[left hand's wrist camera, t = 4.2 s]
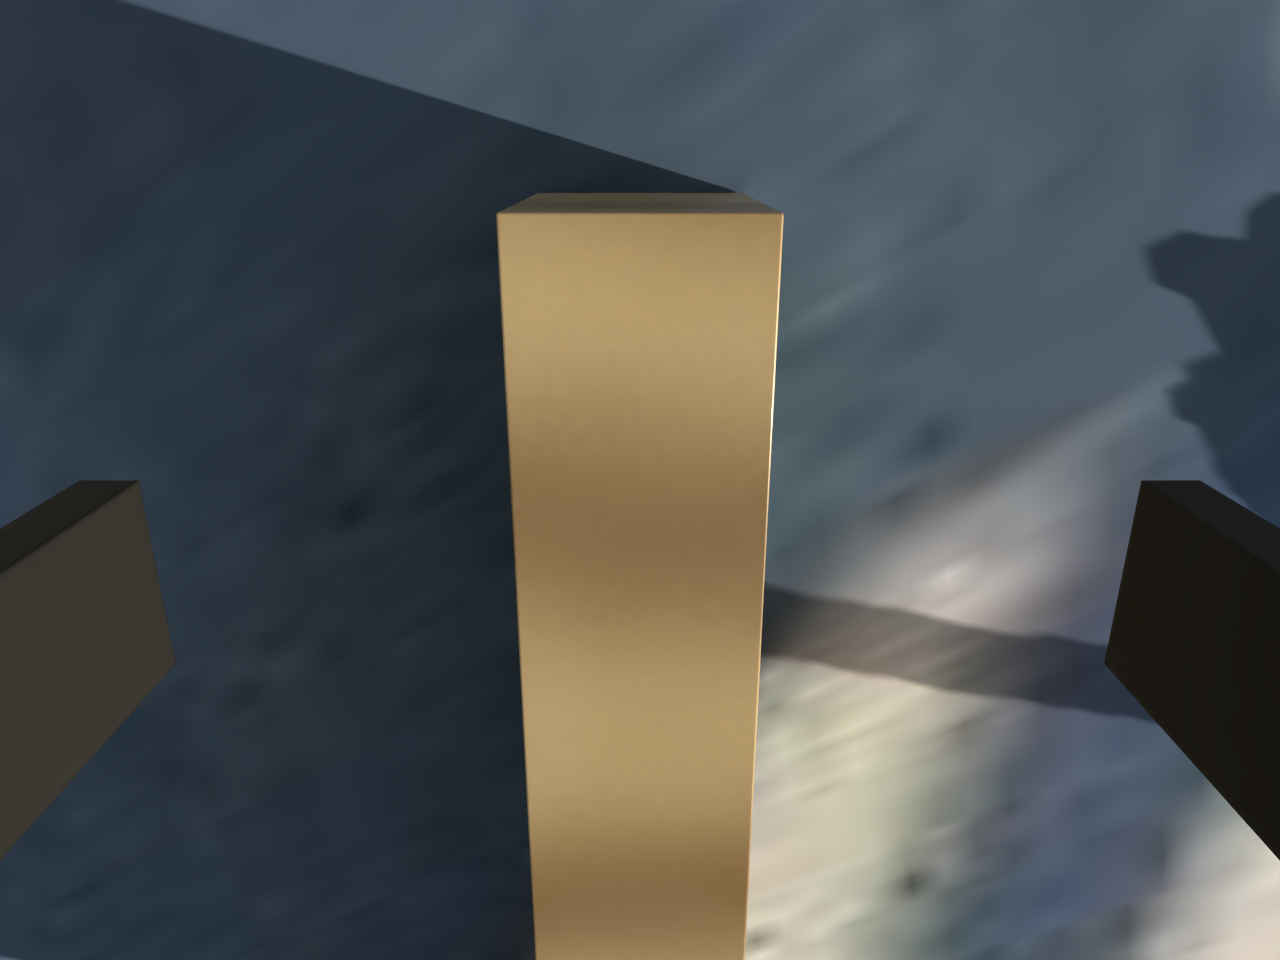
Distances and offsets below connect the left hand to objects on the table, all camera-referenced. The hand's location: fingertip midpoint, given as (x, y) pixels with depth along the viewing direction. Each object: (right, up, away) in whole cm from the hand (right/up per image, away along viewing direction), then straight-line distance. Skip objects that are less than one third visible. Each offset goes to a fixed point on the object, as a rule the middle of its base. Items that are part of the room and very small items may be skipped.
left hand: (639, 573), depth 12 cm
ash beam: (0, -7, +21) cm, 22 cm away
